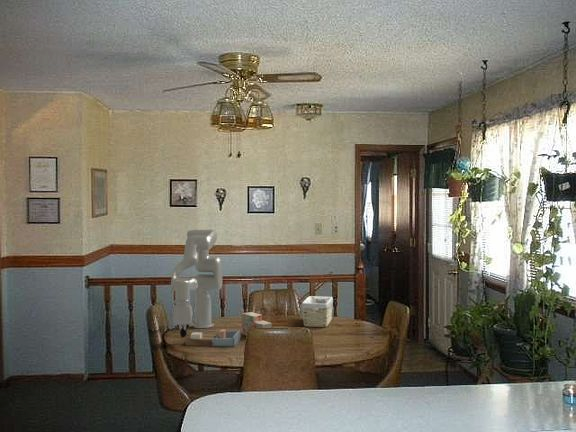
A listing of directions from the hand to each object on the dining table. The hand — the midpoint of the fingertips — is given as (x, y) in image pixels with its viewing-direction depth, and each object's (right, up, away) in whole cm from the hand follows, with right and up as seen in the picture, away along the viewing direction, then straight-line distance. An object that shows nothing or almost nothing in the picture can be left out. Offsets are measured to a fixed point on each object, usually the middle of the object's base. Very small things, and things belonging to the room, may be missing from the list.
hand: (183, 336), depth 320 cm
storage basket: (+74, -1, +46) cm, 88 cm away
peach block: (+19, 0, +5) cm, 20 cm away
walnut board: (+10, -3, +3) cm, 11 cm away
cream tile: (+7, -1, -1) cm, 7 cm away
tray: (+23, -3, +1) cm, 23 cm away
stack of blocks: (+39, -3, +13) cm, 41 cm away
